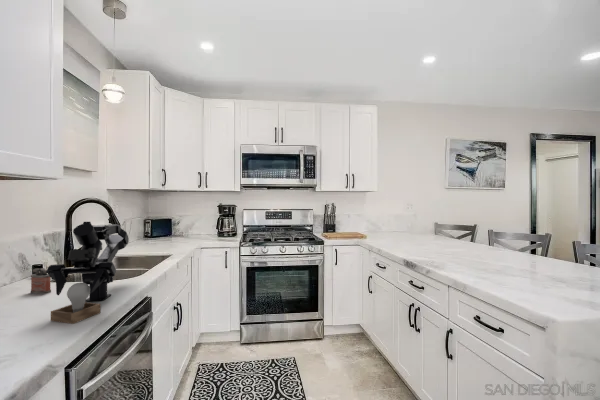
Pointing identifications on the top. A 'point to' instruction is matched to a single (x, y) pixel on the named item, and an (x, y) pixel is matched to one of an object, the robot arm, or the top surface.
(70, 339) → the top surface
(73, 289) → the lightbulb
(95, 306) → the frame
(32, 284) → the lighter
